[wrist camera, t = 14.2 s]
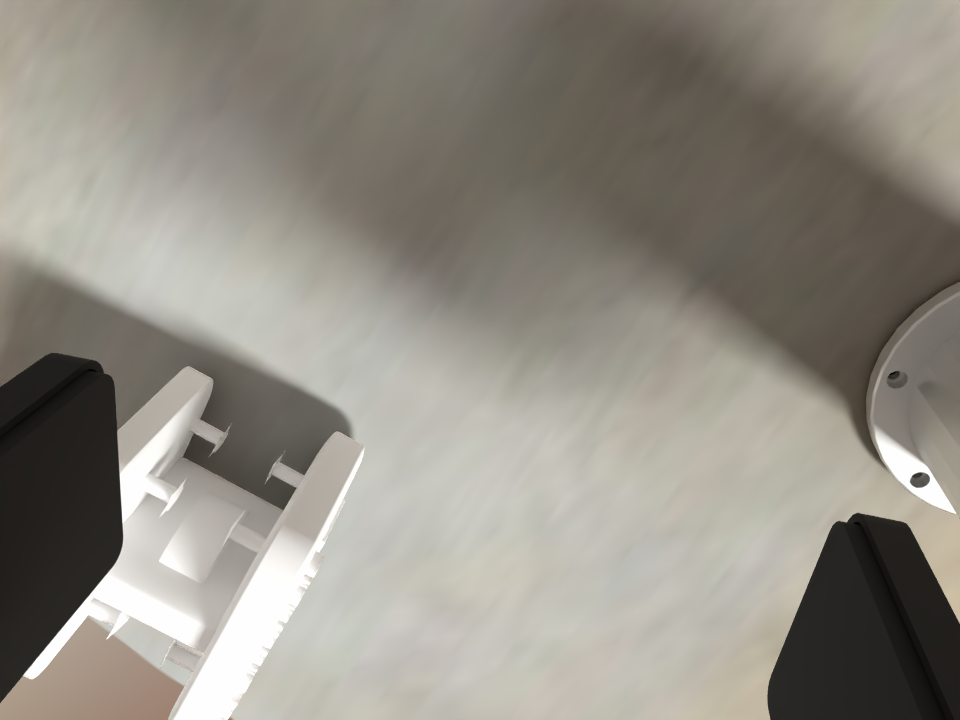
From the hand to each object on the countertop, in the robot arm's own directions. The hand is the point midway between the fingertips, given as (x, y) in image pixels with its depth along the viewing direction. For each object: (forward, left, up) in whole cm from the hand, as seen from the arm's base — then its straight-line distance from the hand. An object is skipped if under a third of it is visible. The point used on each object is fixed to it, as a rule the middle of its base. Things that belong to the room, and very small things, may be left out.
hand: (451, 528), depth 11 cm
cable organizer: (+14, +22, -29) cm, 39 cm away
